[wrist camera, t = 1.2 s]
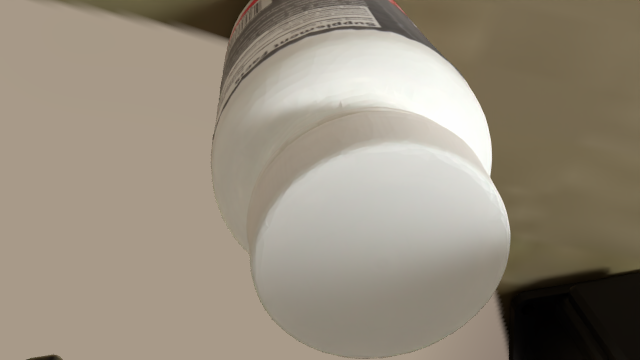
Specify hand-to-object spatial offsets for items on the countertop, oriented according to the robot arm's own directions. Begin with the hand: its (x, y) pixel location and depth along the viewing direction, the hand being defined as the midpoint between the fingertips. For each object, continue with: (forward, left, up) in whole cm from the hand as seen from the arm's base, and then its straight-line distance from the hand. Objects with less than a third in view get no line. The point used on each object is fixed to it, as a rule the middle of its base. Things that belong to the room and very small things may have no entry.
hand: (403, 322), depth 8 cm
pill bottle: (0, 0, -11) cm, 11 cm away
